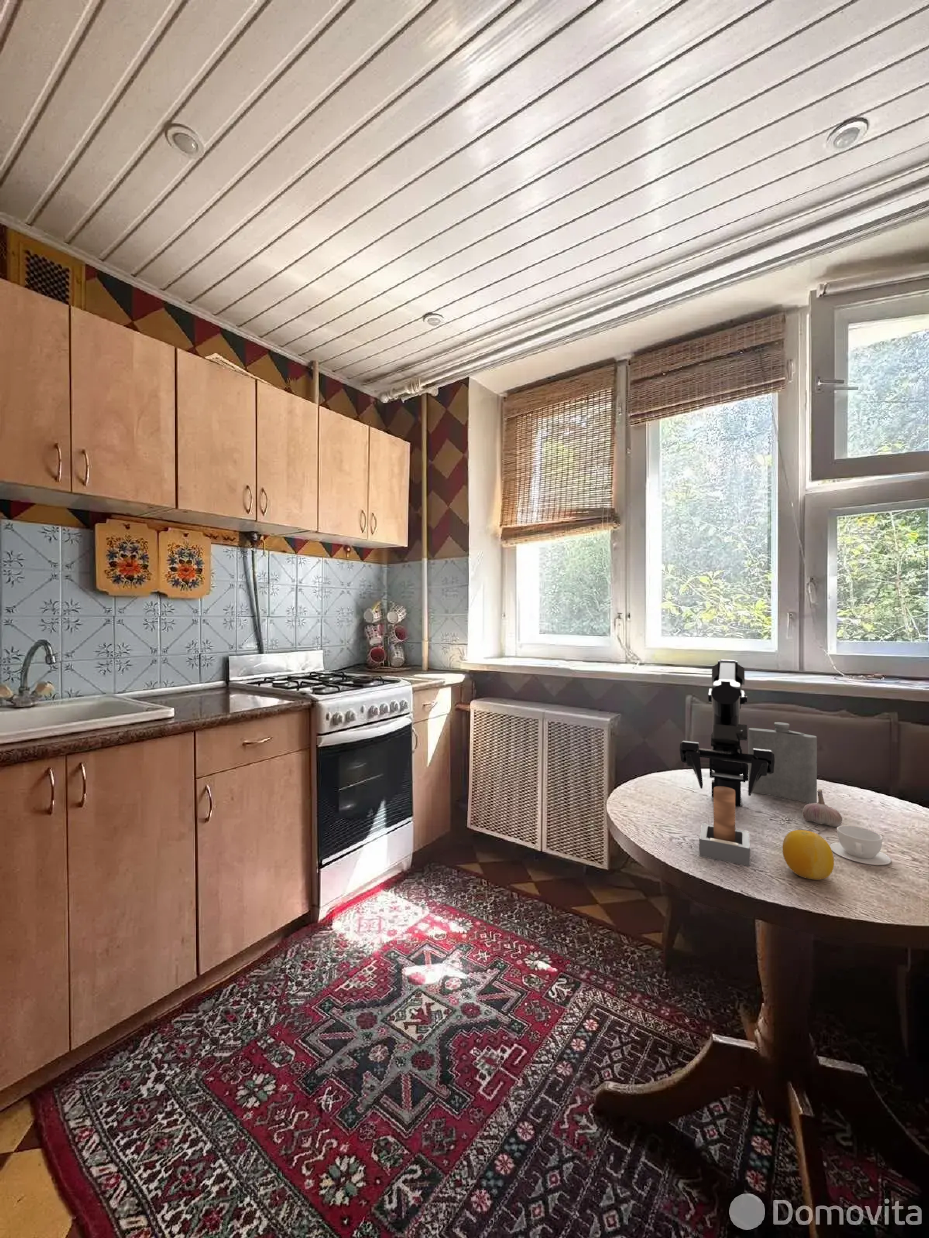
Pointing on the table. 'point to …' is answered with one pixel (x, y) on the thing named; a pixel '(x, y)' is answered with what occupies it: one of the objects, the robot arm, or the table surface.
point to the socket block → (724, 846)
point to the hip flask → (787, 763)
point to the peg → (724, 813)
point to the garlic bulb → (821, 812)
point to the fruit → (808, 854)
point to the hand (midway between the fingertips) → (724, 791)
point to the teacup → (860, 845)
